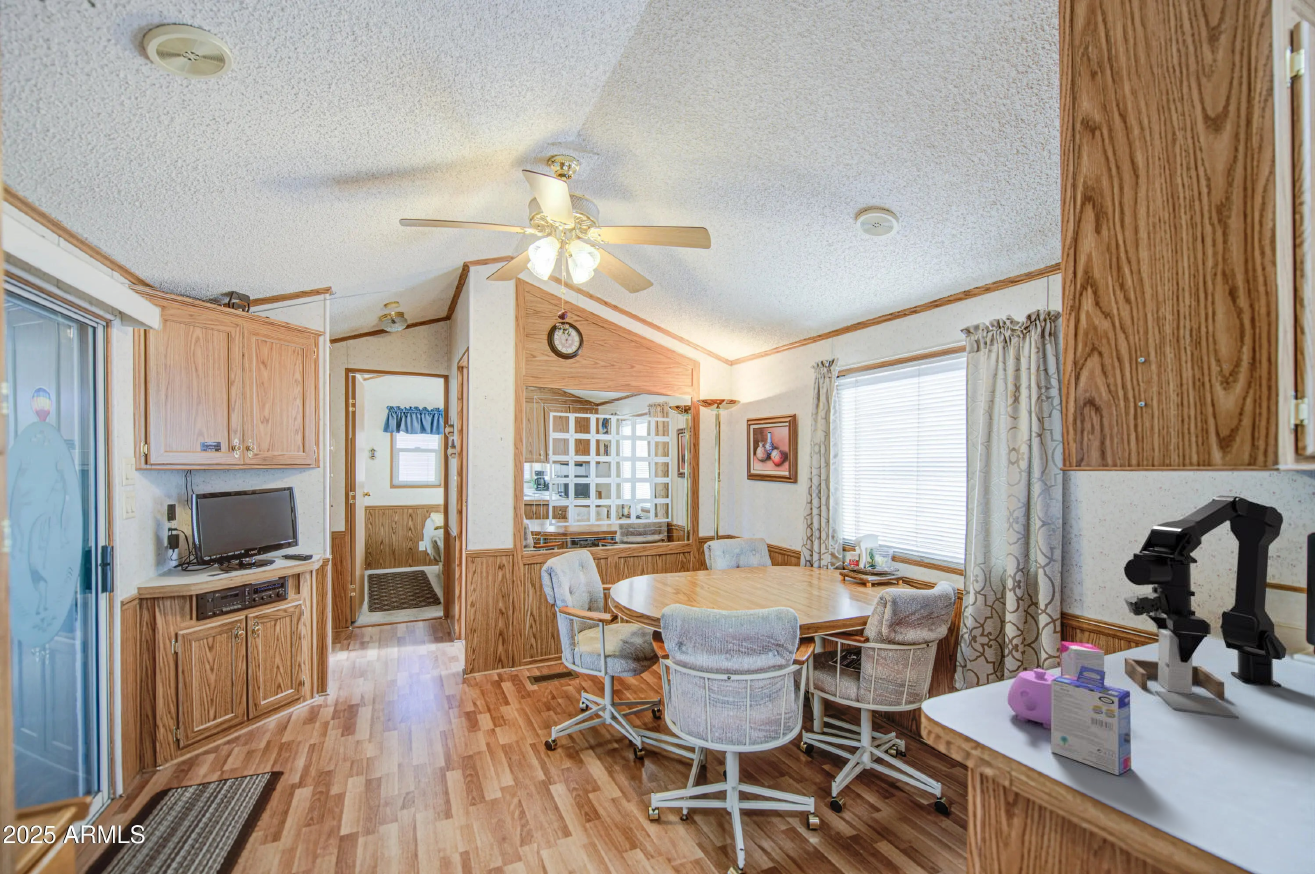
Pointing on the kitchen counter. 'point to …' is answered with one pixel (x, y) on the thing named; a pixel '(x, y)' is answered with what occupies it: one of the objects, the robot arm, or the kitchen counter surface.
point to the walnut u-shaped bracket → (1145, 668)
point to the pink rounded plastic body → (1032, 696)
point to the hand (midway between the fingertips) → (1175, 655)
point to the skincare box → (1173, 665)
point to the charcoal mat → (1196, 704)
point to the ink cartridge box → (1091, 721)
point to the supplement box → (1080, 659)
